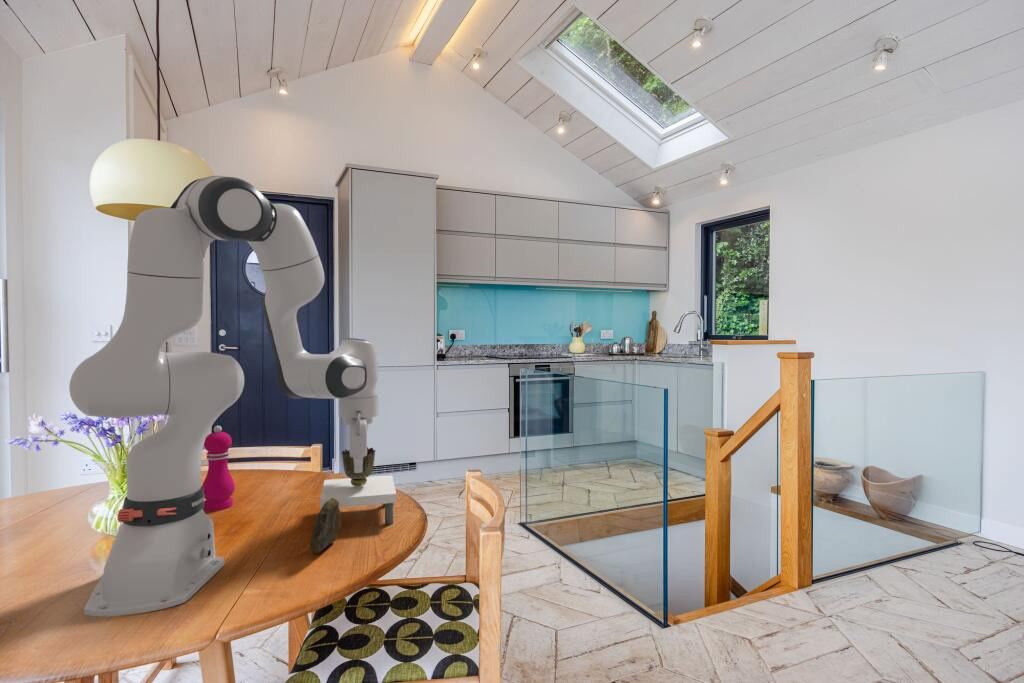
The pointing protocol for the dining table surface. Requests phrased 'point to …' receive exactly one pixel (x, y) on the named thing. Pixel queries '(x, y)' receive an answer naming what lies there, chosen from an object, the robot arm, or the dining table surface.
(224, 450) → the pepper mill
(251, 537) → the dining table surface
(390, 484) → the footstool
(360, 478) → the cup
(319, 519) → the decorative stone
